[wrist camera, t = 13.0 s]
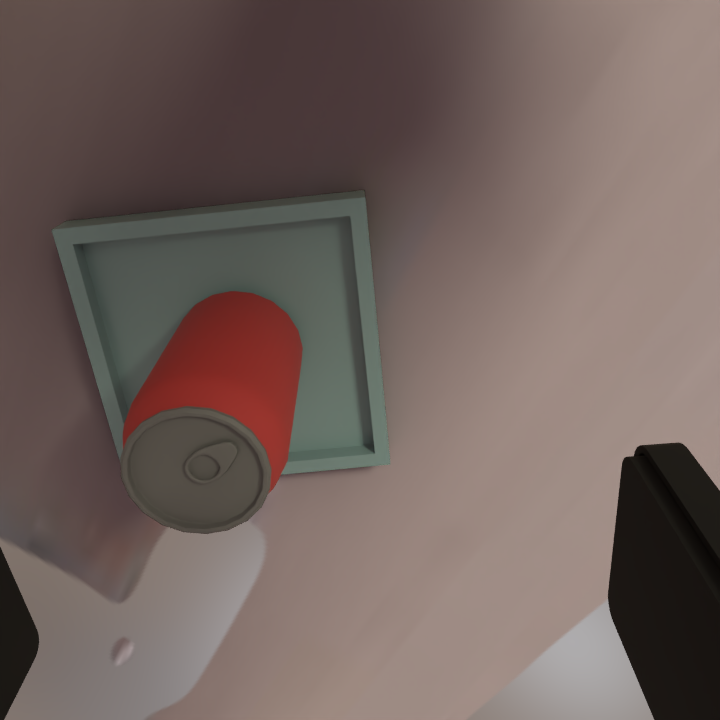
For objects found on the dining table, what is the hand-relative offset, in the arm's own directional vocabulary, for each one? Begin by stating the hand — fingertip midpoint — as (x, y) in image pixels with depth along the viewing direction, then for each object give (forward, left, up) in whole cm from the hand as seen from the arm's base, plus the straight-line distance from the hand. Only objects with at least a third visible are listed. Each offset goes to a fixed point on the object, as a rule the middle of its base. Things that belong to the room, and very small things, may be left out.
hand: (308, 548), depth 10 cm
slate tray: (+6, +7, -26) cm, 27 cm away
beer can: (+6, +7, -25) cm, 27 cm away
